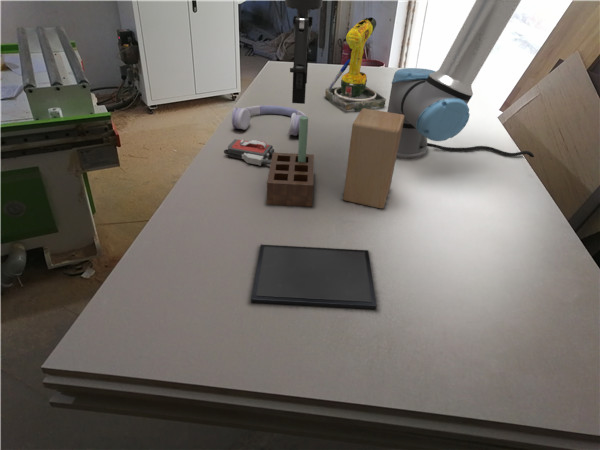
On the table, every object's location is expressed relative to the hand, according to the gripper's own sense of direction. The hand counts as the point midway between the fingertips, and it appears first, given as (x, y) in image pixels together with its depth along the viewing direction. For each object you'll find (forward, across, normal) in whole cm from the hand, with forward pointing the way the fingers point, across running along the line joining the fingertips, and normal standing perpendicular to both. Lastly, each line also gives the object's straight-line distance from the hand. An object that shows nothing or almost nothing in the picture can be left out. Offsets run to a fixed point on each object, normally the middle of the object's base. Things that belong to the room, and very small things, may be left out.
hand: (299, 92), depth 92 cm
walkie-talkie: (+23, -10, -11) cm, 27 cm away
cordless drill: (+23, -60, +20) cm, 67 cm away
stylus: (+23, 0, +1) cm, 23 cm away
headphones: (+23, -34, -9) cm, 42 cm away
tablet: (+23, +36, +5) cm, 43 cm away
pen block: (+23, +5, -1) cm, 23 cm away
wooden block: (+23, +6, +18) cm, 30 cm away
